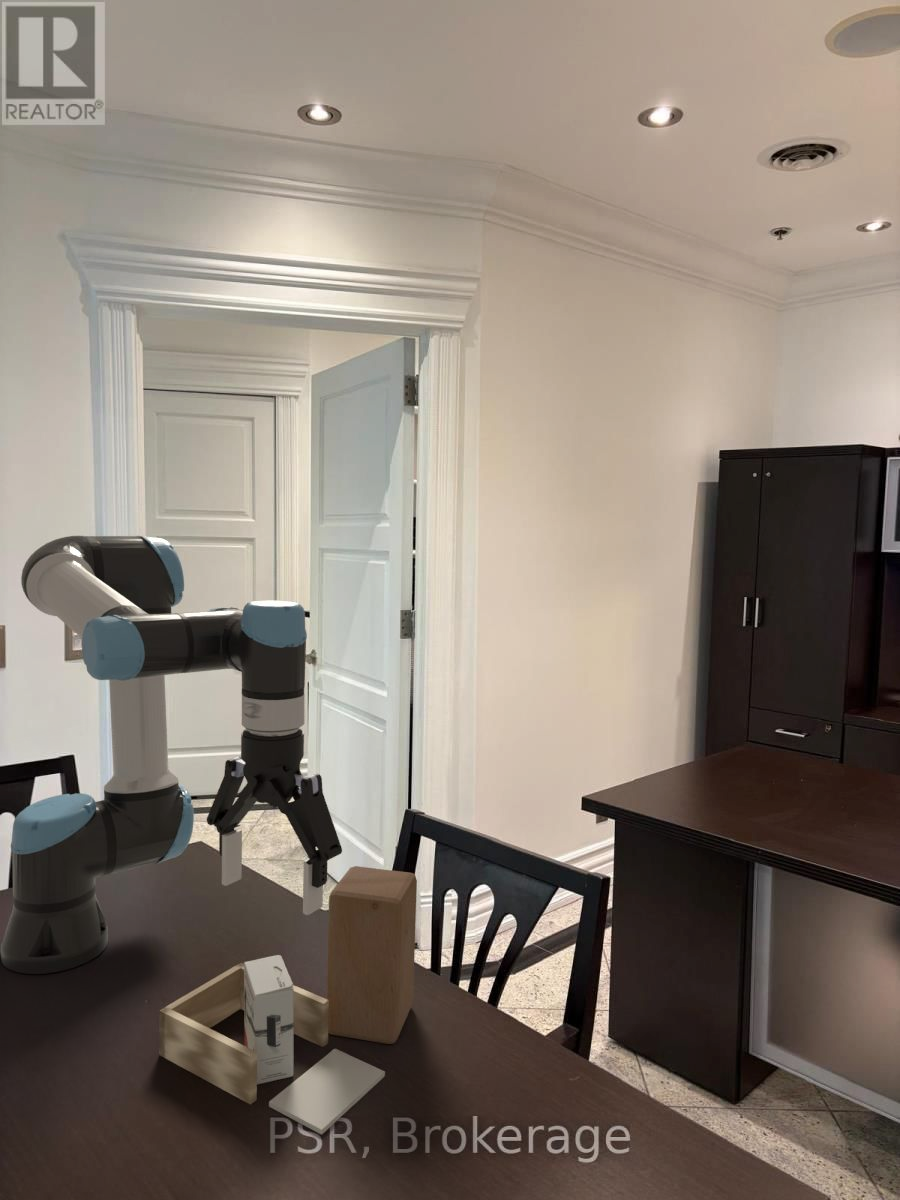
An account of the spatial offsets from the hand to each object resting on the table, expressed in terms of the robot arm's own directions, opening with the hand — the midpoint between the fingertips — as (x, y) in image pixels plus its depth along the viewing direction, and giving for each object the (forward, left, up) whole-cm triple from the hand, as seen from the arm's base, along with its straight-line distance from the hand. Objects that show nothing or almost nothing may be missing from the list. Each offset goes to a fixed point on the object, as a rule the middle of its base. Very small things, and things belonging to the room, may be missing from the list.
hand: (270, 895), depth 104 cm
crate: (-4, 0, -22) cm, 22 cm away
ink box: (0, 0, -22) cm, 22 cm away
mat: (+10, 0, -22) cm, 24 cm away
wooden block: (+5, +14, -22) cm, 27 cm away
